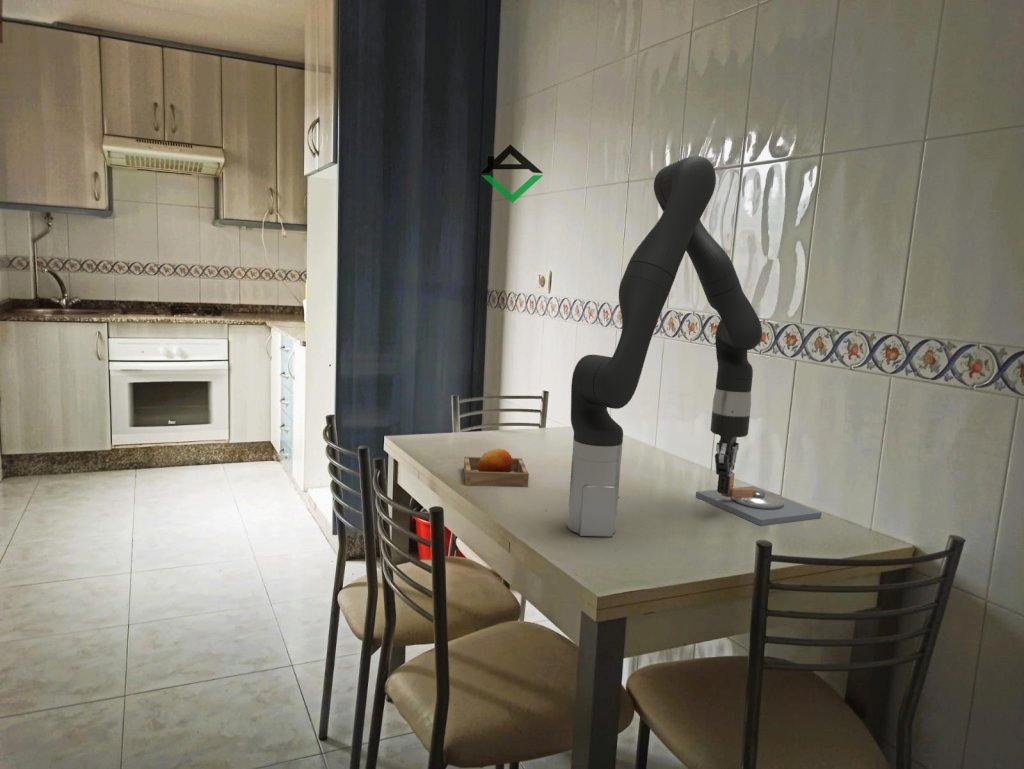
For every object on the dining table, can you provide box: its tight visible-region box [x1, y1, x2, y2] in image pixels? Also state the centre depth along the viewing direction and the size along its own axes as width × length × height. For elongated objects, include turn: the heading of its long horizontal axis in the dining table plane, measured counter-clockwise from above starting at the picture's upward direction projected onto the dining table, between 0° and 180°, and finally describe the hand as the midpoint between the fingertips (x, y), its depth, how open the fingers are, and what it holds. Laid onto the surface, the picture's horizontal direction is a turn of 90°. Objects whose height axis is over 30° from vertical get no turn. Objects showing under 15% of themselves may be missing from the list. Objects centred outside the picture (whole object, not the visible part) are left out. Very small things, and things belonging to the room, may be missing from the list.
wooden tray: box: [463, 456, 530, 488], centre depth 174 cm, size 14×14×3 cm
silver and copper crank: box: [721, 472, 785, 509], centre depth 162 cm, size 14×11×6 cm
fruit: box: [477, 448, 513, 472], centre depth 174 cm, size 8×8×8 cm
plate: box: [695, 485, 822, 527], centre depth 163 cm, size 20×17×2 cm
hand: (723, 492), depth 156 cm, fingers closed
